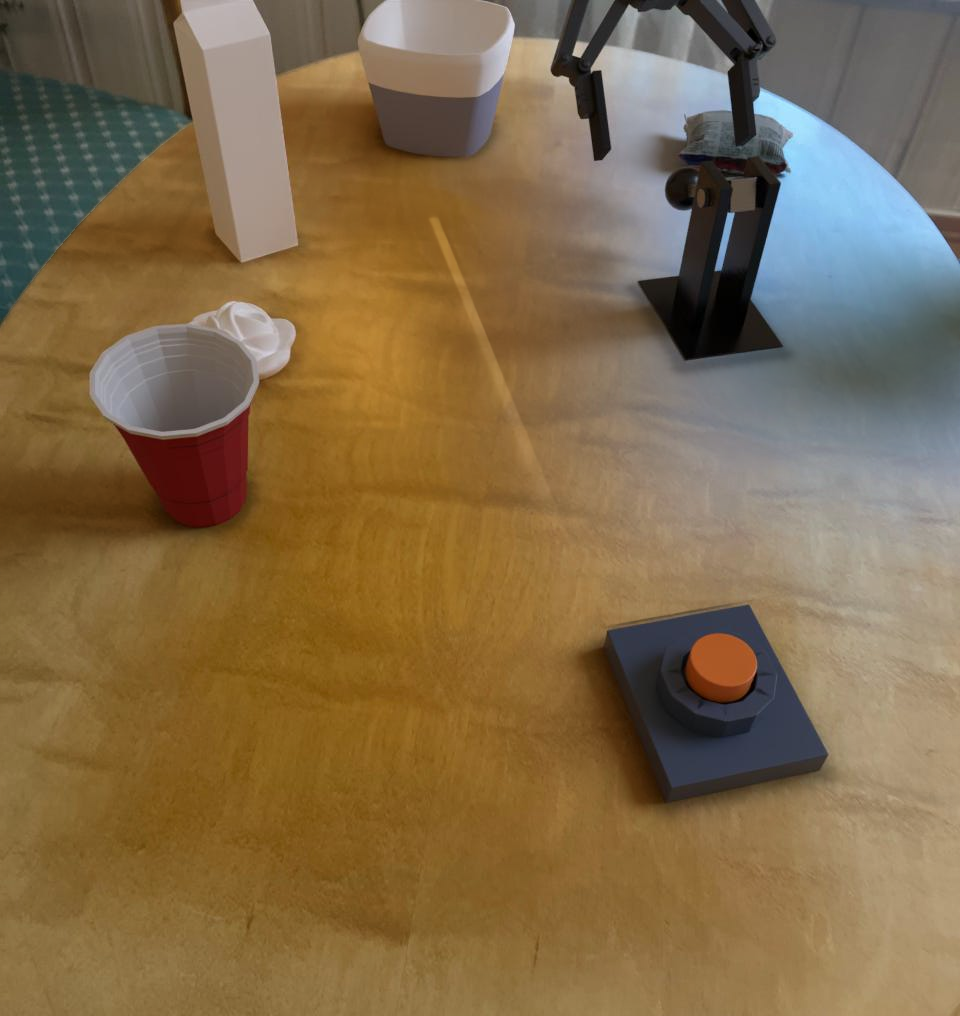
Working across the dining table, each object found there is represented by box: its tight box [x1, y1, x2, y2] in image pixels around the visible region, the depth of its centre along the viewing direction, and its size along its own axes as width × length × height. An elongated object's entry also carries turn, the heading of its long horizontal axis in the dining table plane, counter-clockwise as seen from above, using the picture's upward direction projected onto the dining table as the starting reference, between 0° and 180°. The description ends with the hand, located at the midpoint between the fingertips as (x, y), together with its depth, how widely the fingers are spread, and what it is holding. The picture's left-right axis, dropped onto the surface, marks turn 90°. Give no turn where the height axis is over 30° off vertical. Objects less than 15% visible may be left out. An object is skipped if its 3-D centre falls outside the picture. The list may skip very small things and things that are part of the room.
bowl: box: [357, 0, 516, 158], centre depth 106 cm, size 15×15×11 cm
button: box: [685, 633, 757, 703], centre depth 61 cm, size 4×4×2 cm
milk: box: [172, 0, 299, 264], centre depth 88 cm, size 6×6×22 cm
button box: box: [603, 604, 829, 804], centre depth 63 cm, size 12×10×4 cm
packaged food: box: [677, 109, 794, 176], centre depth 106 cm, size 9×12×5 cm
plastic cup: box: [89, 323, 260, 529], centre depth 70 cm, size 11×11×12 cm
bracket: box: [638, 156, 784, 361], centre depth 84 cm, size 12×9×14 cm
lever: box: [664, 165, 757, 214], centre depth 85 cm, size 13×4×4 cm, turn 14°
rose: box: [187, 300, 297, 381], centre depth 84 cm, size 10×4×10 cm
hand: (675, 148), depth 90 cm, fingers open, 13 cm apart
